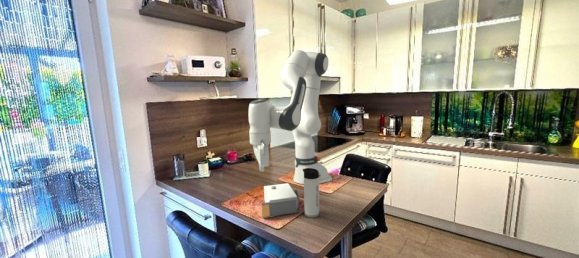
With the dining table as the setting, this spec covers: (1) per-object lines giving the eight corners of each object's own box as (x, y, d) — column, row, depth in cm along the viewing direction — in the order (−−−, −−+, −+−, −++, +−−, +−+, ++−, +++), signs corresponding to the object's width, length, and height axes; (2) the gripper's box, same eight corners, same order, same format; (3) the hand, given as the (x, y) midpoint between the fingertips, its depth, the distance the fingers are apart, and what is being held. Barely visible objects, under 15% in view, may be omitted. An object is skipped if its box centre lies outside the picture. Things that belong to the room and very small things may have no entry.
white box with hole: (292, 196, 123) (291, 181, 122) (301, 211, 108) (301, 194, 107) (264, 199, 120) (263, 185, 119) (270, 215, 104) (269, 199, 103)
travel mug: (302, 211, 108) (301, 167, 104) (317, 210, 108) (317, 166, 105) (304, 218, 102) (303, 171, 98) (320, 217, 102) (320, 171, 99)
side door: (297, 211, 107) (297, 198, 106) (298, 212, 106) (298, 199, 105) (262, 216, 103) (261, 203, 102) (262, 218, 102) (261, 204, 101)
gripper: (272, 143, 94) (273, 177, 96) (264, 134, 113) (265, 163, 116) (255, 144, 92) (257, 179, 95) (250, 135, 112) (252, 164, 114)
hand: (261, 170), depth 105 cm, fingers closed
